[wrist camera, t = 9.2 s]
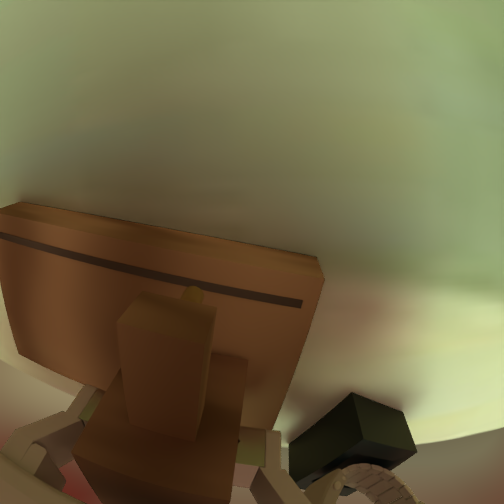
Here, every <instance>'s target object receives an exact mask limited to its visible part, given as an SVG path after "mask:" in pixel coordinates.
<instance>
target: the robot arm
mask: <svg viewBox="0 0 504 504" xmlns="http://www.w3.org/2000/svg"><path fill="white" fill-rule="evenodd" d="M105 392H106V391H104V390H102V389H99V388H97V387H94V386H92V385H89V384H86V385H85V386H83V388H82V389H81V391H80V392H79V393H78V395H77V396H76V398H75V399H74V401H73V402H72V404H71V405H70V407H69V408H68V410H67V411H66V412H64V411H61V412H59V413H57V414H54V415H52V416H49V417H47V418H44V419H42V420H39V421H37V422H34V423H31V424H29V425H26V426H24V427H21V428H18V429H15V431H14V432H13V433H12V435H11V436H10V438H9V439H8V441H7V442H6V444H5V445H4V446H3V448H2V449H1V451H0V504H86V503H84V502H82V501H80V500H77V499H76V498H74V497H72V496H70V495H68V494H66V493H63V492H62V489H63V487H64V485H65V483H66V480H65V478H64V476H63V475H62V473H61V472H60V471H59V469H58V468H60V467H62V466H63V465H65V464H67V463H68V462H70V461H72V460H73V459H74V457H73V455H72V454H71V451H72V449H73V447H74V445H75V444H76V442H77V440H78V438H79V436H80V435H81V433H82V431H83V429H84V428H85V426H86V424H87V423H88V421H89V419H90V417H91V416H92V414H93V412H94V411H95V409H96V407H97V405H98V404H99V402H100V400H101V399H102V397H103V395H104V394H105ZM232 486H238V487H245V488H250V491H251V493H252V494H253V496H254V498H255V500H256V501H257V503H258V504H312V503H311V502H310V501H309V500H308V498H307V497H306V496H305V495H304V493H303V492H302V491H301V490H300V488H299V487H298V486H297V484H296V483H295V482H294V481H293V479H292V478H291V477H290V475H289V474H288V473H287V471H286V470H285V469H281V433H280V431H275V430H265V429H260V428H253V427H245V426H240V431H239V439H238V447H237V454H236V462H235V470H234V477H233V485H232Z"/></svg>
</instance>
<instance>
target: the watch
mask: <svg viewBox="0 0 504 504" xmlns="http://www.w3.org/2000/svg"><path fill="white" fill-rule="evenodd" d="M415 453H417V449H416V447H415V444H414V441H413V438H412V435H411V433H410V430H409V427H408V425H407V422H406V419H405V417H404V414H403V412H401V411H398V410H396V409H393V408H390V407H388V406H385V405H383V404H380V403H378V402H375V401H372V400H370V399H367V398H365V397H363V396H360V395H358V394H355V393H353V392H351V393H350V394H349V395H348V396H347V397H346V398H345V399H344V400H343V401H342V402H340V403H339V404H338V405H337V406H336V407H335V408H334V409H332V410H331V411H330V412H329V413H328V414H326V415H325V416H324V417H323V418H322V419H320V420H319V421H318V422H317V423H316V424H314V425H313V426H312V427H311V428H309V429H308V430H307V431H305V432H304V433H303V434H302V435H300V436H299V437H298V438H296V439H295V440H294V441H292V442H291V443H290V444H289V475H290V477H291V478H292V479H293V481H294V482H295V483H296V484H297V486H298V487H299V488H300V489H304V490H305V492H303V493H304V495H305V496H306V497H307V498H308V500H309V501H310V502H311V503H312V504H336V501H337V499H338V496H339V495H341V496H348V495H350V494H351V493H353V492H355V491H357V490H358V491H359V492H361V493H363V494H365V493H366V496H367V497H368V498H369V499H370V500H371V501H372V502H375V503H374V504H425V503H424V502H422V501H418V499H417V498H416V496H415V495H413V494H414V493H413V492H412V490H411V489H410V488H409V487H408V486H407V485H406V484H405V483H404V481H402V480H401V479H400V478H399V477H398V476H396V475H394V473H392V472H391V471H390V470H392V469H394V468H395V467H396V466H398V465H400V464H401V463H402V462H404V461H405V460H407V459H408V458H410V457H411V456H413V455H414V454H415ZM404 484H405V485H404ZM412 495H413V496H412ZM401 496H402V497H401ZM410 496H411V497H410ZM398 498H399V499H398ZM378 499H379V500H378ZM396 499H397V500H396ZM394 500H395V501H394ZM392 501H393V502H392ZM390 502H391V503H390Z"/></svg>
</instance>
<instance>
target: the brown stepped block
mask: <svg viewBox="0 0 504 504" xmlns="http://www.w3.org/2000/svg"><path fill="white" fill-rule="evenodd" d="M203 299H204V294H203V291H202V290H201V289H200V288H199V287H196V286H189V287H187V288H186V289H185V291H184V292H183V294H182V296H181V298H180V299H176V298H172V297H168V296H163V295H159V294H155V293H150V292H146V291H142V292H141V293H140V294H139V295H138V296H137V298H136V299H135V300H134V301H133V302H132V304H131V305H130V306H129V307H128V308H127V310H126V311H125V312H124V313H123V315H122V316H121V317H120V318H119V319H118V321H117V334H118V345H119V355H120V364H121V368H120V369H119V371H118V373H117V374H116V376H115V377H114V379H113V381H112V382H111V384H110V386H109V387H108V389H107V390H106V392H105V394H104V395H103V397H102V399H101V400H100V402H99V404H98V405H97V407H96V409H95V411H94V412H93V414H92V416H91V417H90V419H89V421H88V423H87V424H86V426H85V428H84V429H83V431H82V433H81V435H80V436H79V438H78V440H77V442H76V444H75V445H74V447H73V449H72V451H71V454H72V455H73V457H74V459H75V461H76V463H77V464H78V466H79V468H80V469H81V471H82V472H83V475H84V476H85V478H86V479H87V481H88V483H89V484H90V486H91V487H92V489H93V490H94V492H95V493H96V495H97V496H98V498H99V499H100V501H101V502H102V503H103V504H229V503H230V499H231V492H232V485H233V477H234V470H235V462H236V454H237V447H238V439H239V431H240V424H241V416H242V408H243V400H244V392H245V384H246V376H247V368H248V360H246V359H240V358H235V357H230V356H224V355H219V354H215V353H211V349H212V341H213V334H214V326H215V319H216V312H217V307H214V306H209V305H204V304H201V303H202V301H203Z"/></svg>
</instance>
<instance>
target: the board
mask: <svg viewBox="0 0 504 504" xmlns="http://www.w3.org/2000/svg"><path fill="white" fill-rule="evenodd" d="M324 281H325V278H324V276H323V273H322V270H321V267H320V265H319V262H318V259H317V257H313V256H308V255H303V254H298V253H293V252H288V251H283V250H277V249H272V248H267V247H262V246H257V245H252V244H246V243H241V242H236V241H231V240H225V239H220V238H215V237H210V236H204V235H199V234H194V233H188V232H183V231H178V230H172V229H167V228H162V227H156V226H151V225H145V224H140V223H135V222H129V221H124V220H118V219H113V218H107V217H102V216H96V215H91V214H85V213H80V212H74V211H69V210H63V209H57V208H52V207H46V206H41V205H35V204H29V203H24V202H18V203H15V204H12V205H9V206H6V207H3V208H0V283H1V288H2V293H3V298H4V302H5V306H6V311H7V315H8V319H9V323H10V326H11V330H12V334H13V337H14V340H15V344H16V347H17V350H18V353H19V354H20V355H22V356H24V357H26V358H28V359H30V360H32V361H34V362H36V363H38V364H40V365H42V366H44V367H46V368H48V369H50V370H52V371H54V372H56V373H59V374H61V375H63V376H65V377H68V378H70V379H72V380H75V381H77V382H79V383H82V384H84V385H86V384H89V385H92V386H94V387H97V388H99V389H102V390H104V391H106V390H107V389H108V387H109V386H110V384H111V382H112V381H113V379H114V377H115V376H116V374H117V373H118V371H119V369H120V368H121V364H120V355H119V345H118V334H117V321H118V319H119V318H120V317H121V316H122V315H123V313H124V312H125V311H126V310H127V308H128V307H129V306H130V305H131V304H132V302H133V301H134V300H135V299H136V298H137V296H138V295H139V294H140V293H141V292H142V291H146V292H150V293H155V294H159V295H163V296H168V297H172V298H176V299H180V298H181V296H182V294H183V292H184V291H185V289H186V288H187V287H189V286H196V287H199V288H200V289H201V290H202V291H203V294H204V299H203V301H202V303H201V304H204V305H209V306H214V307H217V312H216V319H215V326H214V334H213V341H212V349H211V353H215V354H219V355H224V356H230V357H235V358H240V359H246V360H248V368H247V376H246V384H245V392H244V400H243V408H242V416H241V424H240V426H245V427H253V428H260V429H265V430H272V429H273V426H274V424H275V421H276V419H277V416H278V414H279V411H280V409H281V406H282V404H283V401H284V399H285V396H286V393H287V391H288V388H289V385H290V383H291V380H292V377H293V375H294V372H295V369H296V366H297V364H298V361H299V358H300V355H301V352H302V349H303V346H304V343H305V341H306V338H307V335H308V332H309V329H310V326H311V322H312V319H313V316H314V313H315V310H316V307H317V304H318V300H319V297H320V294H321V291H322V287H323V284H324Z"/></svg>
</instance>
